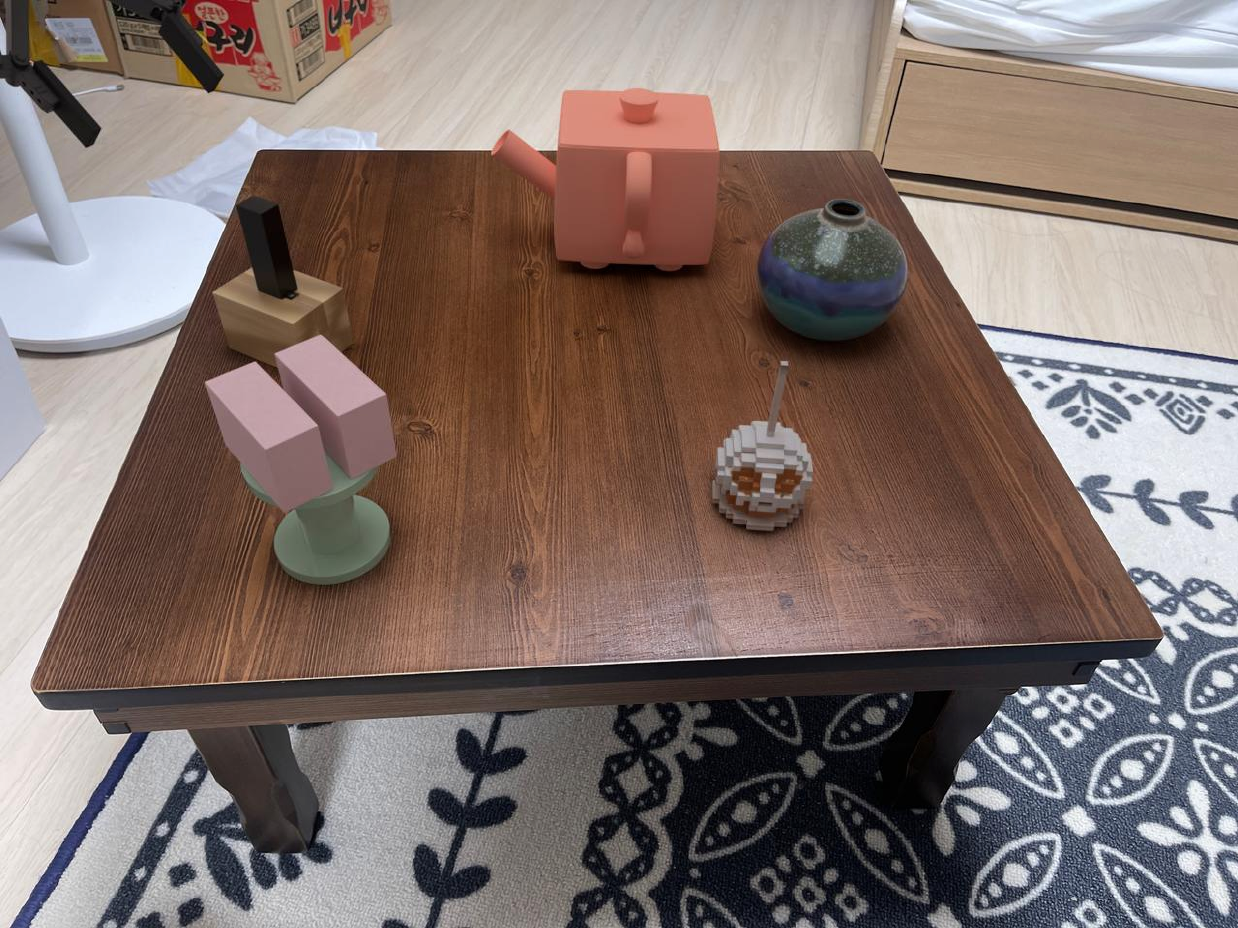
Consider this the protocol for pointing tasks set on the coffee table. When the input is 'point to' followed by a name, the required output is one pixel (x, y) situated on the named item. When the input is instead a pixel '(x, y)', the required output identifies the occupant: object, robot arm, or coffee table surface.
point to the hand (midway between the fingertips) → (158, 110)
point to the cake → (303, 421)
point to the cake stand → (330, 531)
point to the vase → (832, 272)
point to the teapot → (628, 177)
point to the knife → (267, 247)
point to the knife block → (281, 316)
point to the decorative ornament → (763, 471)
